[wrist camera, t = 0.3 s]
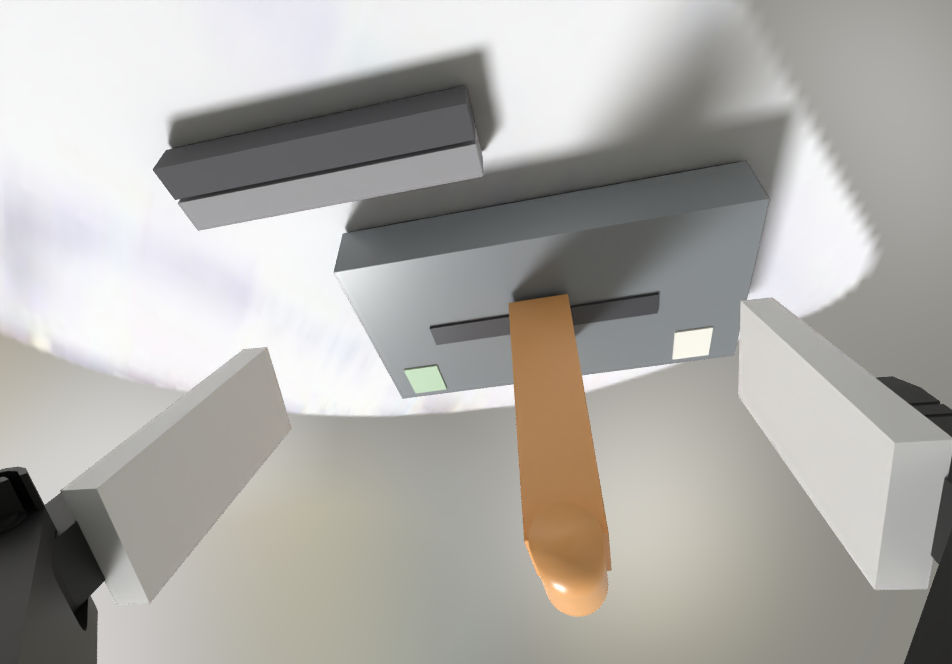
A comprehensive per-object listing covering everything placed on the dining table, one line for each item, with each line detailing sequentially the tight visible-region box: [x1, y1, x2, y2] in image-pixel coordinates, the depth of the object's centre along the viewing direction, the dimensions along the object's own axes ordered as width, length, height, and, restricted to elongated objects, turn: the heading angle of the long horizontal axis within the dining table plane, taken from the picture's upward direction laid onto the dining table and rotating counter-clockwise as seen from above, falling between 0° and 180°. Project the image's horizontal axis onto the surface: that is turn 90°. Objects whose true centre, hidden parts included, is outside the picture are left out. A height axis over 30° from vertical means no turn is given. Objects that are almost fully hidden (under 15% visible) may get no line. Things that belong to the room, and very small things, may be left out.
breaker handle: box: [508, 294, 611, 616], centre depth 24 cm, size 5×3×14 cm, turn 12°
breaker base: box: [334, 161, 770, 399], centre depth 30 cm, size 11×20×3 cm, turn 102°
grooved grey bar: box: [153, 85, 483, 231], centre depth 25 cm, size 3×14×2 cm, turn 102°
